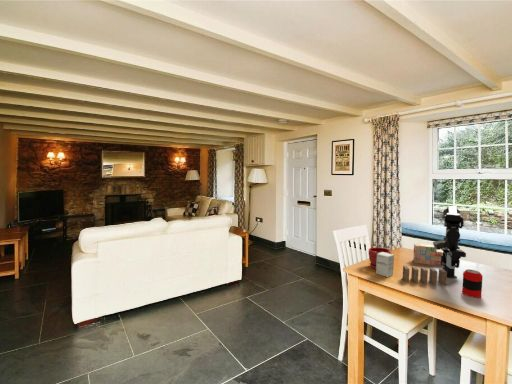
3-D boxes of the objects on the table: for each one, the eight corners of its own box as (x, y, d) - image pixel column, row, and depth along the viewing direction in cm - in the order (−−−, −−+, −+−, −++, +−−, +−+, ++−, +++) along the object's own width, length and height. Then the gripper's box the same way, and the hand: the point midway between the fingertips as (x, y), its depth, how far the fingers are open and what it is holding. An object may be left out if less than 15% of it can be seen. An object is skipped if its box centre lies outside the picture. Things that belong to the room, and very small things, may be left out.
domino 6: (446, 265, 148) (447, 252, 147) (450, 265, 147) (451, 252, 147) (450, 268, 143) (451, 255, 143) (454, 269, 143) (455, 255, 142)
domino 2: (411, 278, 154) (411, 266, 154) (415, 279, 154) (415, 266, 153) (414, 282, 150) (414, 269, 149) (417, 282, 149) (418, 269, 149)
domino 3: (420, 279, 153) (420, 267, 153) (423, 280, 153) (424, 267, 152) (423, 283, 148) (423, 270, 148) (427, 283, 148) (427, 270, 148)
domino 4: (429, 280, 152) (429, 267, 152) (433, 280, 152) (433, 268, 151) (432, 284, 147) (433, 270, 147) (436, 284, 147) (437, 271, 146)
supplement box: (375, 273, 162) (376, 253, 161) (381, 271, 166) (382, 251, 166) (387, 277, 156) (388, 256, 155) (393, 274, 161) (394, 254, 160)
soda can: (472, 291, 139) (473, 268, 138) (485, 297, 131) (486, 274, 130) (458, 291, 138) (459, 268, 138) (470, 298, 131) (471, 274, 130)
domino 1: (402, 278, 156) (403, 265, 155) (406, 278, 155) (406, 265, 155) (404, 281, 151) (405, 268, 150) (408, 281, 150) (409, 268, 150)
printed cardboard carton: (449, 264, 181) (450, 246, 180) (451, 267, 175) (452, 248, 174) (413, 260, 189) (413, 243, 188) (414, 262, 183) (415, 245, 182)
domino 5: (438, 281, 151) (438, 268, 151) (442, 281, 151) (442, 268, 150) (441, 284, 146) (442, 271, 146) (446, 285, 146) (446, 272, 145)
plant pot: (383, 264, 180) (384, 246, 179) (394, 271, 167) (395, 252, 166) (364, 264, 179) (365, 246, 179) (373, 271, 166) (374, 252, 166)
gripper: (429, 231, 155) (427, 257, 156) (442, 240, 137) (440, 269, 138) (451, 232, 152) (449, 259, 153) (467, 241, 134) (465, 271, 135)
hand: (450, 264), depth 145 cm, fingers closed on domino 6, 5 cm apart
